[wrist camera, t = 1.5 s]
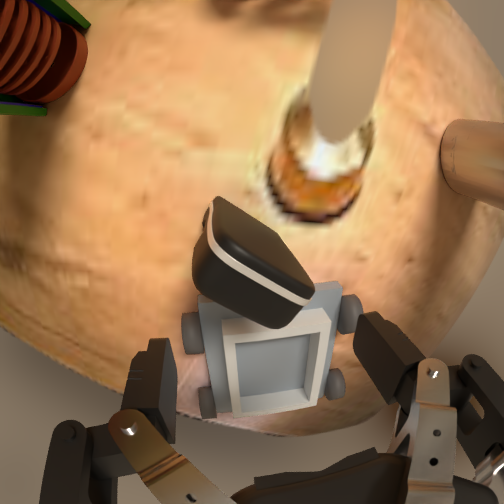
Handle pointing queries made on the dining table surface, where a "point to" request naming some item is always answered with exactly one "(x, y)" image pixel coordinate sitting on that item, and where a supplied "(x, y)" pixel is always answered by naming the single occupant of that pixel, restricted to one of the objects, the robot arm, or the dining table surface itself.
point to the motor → (38, 53)
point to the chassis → (270, 355)
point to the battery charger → (248, 267)
